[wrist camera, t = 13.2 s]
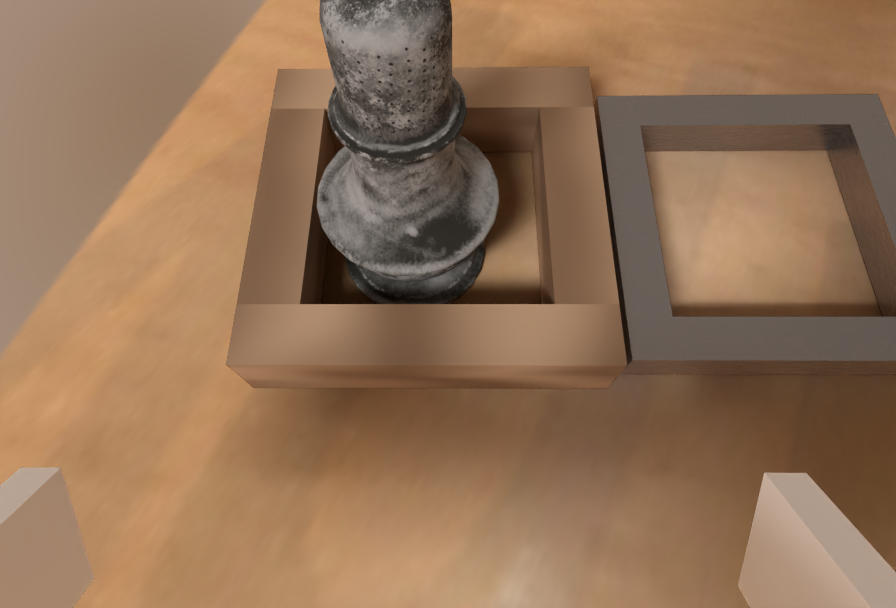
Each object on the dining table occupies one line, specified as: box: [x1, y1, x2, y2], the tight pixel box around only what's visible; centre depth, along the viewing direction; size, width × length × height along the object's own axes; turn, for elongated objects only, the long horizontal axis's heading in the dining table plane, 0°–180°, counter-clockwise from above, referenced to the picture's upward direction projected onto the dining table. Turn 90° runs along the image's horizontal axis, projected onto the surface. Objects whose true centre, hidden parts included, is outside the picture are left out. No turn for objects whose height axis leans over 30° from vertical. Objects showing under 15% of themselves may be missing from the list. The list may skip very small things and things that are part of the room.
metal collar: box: [594, 94, 896, 375], centre depth 21 cm, size 11×11×2 cm
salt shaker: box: [317, 0, 499, 304], centre depth 16 cm, size 6×6×12 cm
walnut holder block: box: [226, 67, 627, 389], centre depth 20 cm, size 12×12×2 cm
